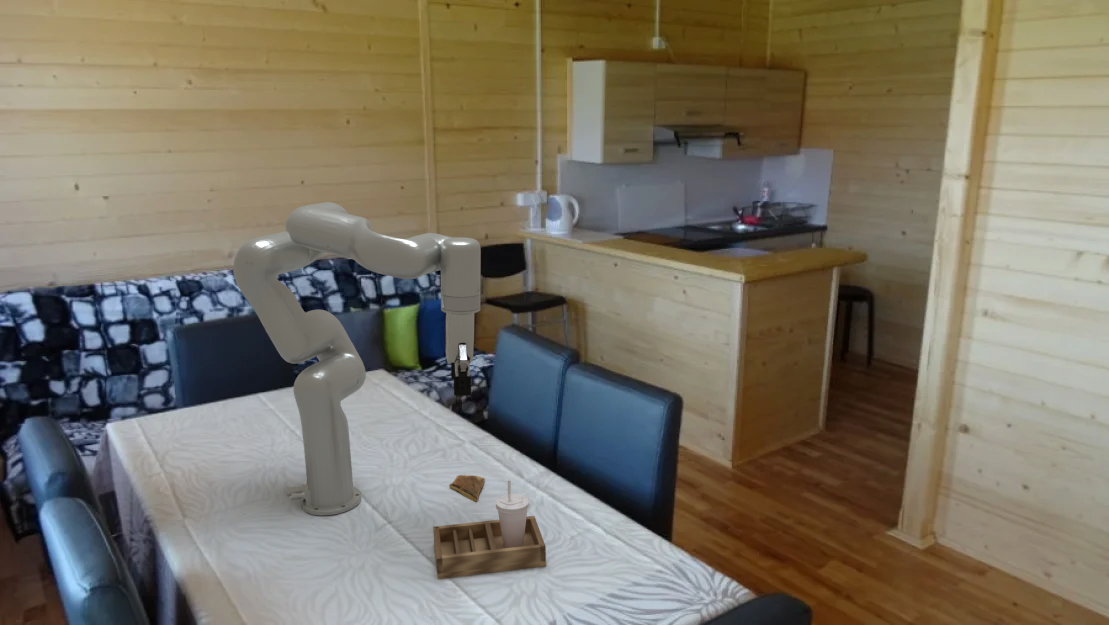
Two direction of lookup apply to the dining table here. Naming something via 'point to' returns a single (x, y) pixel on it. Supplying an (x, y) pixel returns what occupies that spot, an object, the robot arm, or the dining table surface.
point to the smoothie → (512, 518)
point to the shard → (468, 486)
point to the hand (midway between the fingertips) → (460, 386)
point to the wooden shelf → (485, 549)
